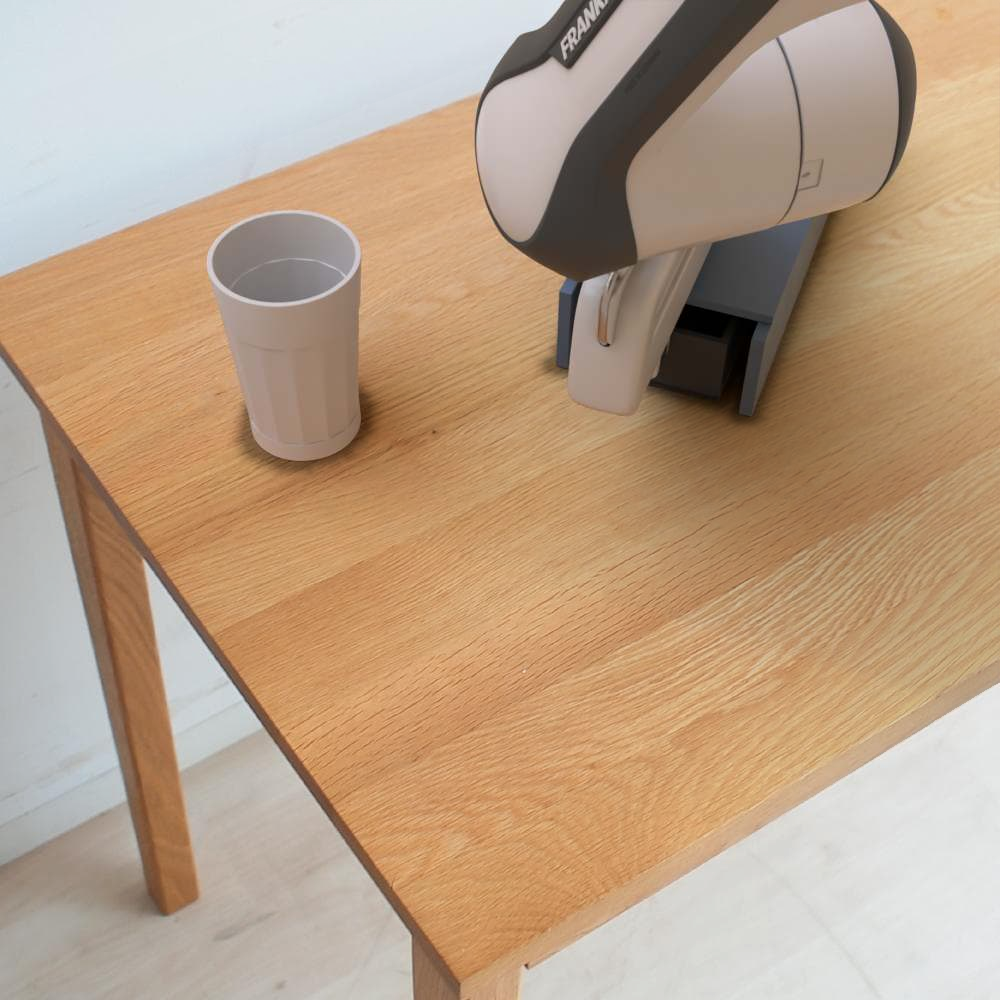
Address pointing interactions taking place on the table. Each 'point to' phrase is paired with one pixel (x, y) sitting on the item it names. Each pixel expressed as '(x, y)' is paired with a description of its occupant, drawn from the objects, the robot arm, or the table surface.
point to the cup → (293, 327)
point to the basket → (701, 352)
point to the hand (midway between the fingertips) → (647, 363)
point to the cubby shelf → (737, 292)
